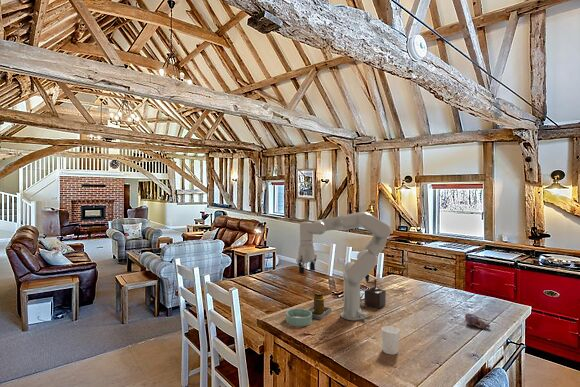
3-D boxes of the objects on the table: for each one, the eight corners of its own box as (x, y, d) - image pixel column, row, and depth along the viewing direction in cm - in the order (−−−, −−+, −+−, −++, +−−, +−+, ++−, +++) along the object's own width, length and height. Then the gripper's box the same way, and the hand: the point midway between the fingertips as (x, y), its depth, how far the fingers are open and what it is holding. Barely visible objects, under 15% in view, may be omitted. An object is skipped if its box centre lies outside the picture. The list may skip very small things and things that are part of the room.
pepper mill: (386, 304, 209) (387, 276, 209) (378, 308, 201) (379, 280, 201) (365, 298, 220) (365, 272, 220) (356, 303, 212) (357, 275, 212)
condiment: (326, 313, 192) (327, 293, 192) (315, 317, 187) (316, 296, 187) (319, 310, 198) (319, 290, 198) (308, 313, 193) (308, 293, 193)
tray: (331, 311, 196) (331, 307, 196) (320, 319, 183) (320, 316, 183) (314, 307, 202) (314, 304, 202) (303, 315, 189) (303, 312, 189)
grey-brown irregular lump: (491, 328, 174) (491, 317, 174) (486, 332, 169) (486, 320, 169) (468, 321, 183) (468, 310, 183) (462, 325, 178) (462, 313, 178)
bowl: (316, 319, 183) (316, 311, 183) (304, 328, 171) (304, 320, 171) (294, 314, 191) (294, 306, 191) (281, 322, 178) (281, 314, 178)
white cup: (378, 347, 151) (378, 325, 151) (395, 346, 152) (395, 325, 152) (385, 355, 143) (385, 333, 143) (402, 355, 144) (402, 332, 144)
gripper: (311, 240, 198) (311, 268, 198) (291, 244, 185) (292, 273, 185) (320, 241, 193) (321, 270, 193) (301, 245, 180) (302, 276, 180)
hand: (307, 272), depth 189 cm, fingers open, 9 cm apart
